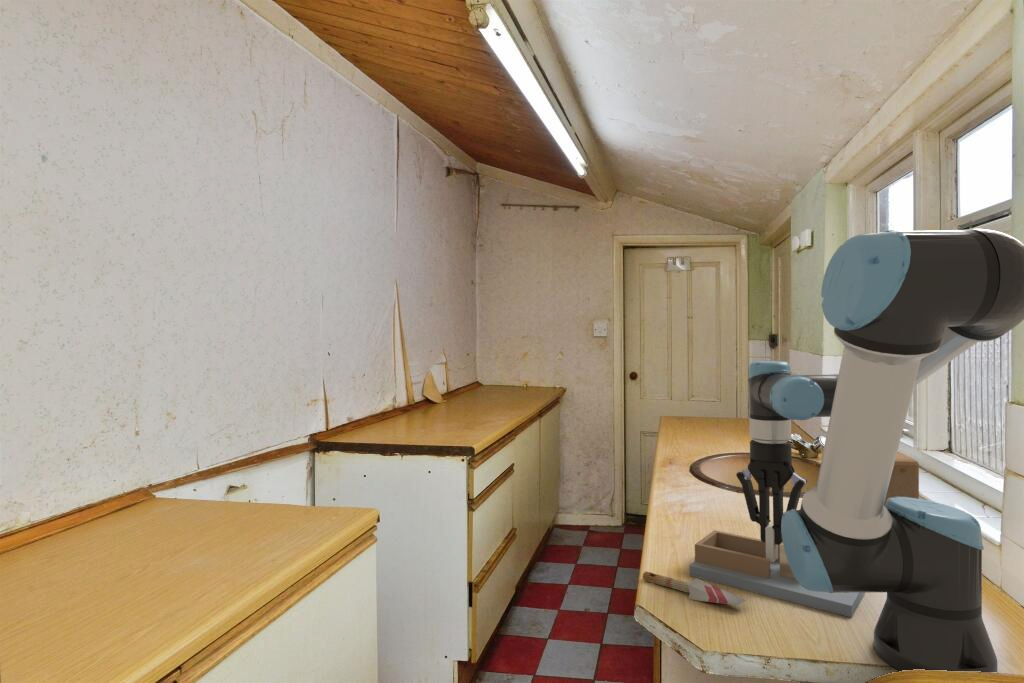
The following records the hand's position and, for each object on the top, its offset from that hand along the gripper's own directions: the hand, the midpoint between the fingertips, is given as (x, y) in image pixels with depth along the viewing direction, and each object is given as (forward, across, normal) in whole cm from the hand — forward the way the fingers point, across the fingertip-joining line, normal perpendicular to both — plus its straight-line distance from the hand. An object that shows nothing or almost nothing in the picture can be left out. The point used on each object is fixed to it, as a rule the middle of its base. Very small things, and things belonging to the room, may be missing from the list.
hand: (771, 559), depth 119 cm
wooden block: (+4, -14, -35) cm, 38 cm away
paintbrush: (+5, +10, +16) cm, 19 cm away
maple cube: (+2, -4, 0) cm, 5 cm away
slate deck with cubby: (+4, 0, -2) cm, 5 cm away
